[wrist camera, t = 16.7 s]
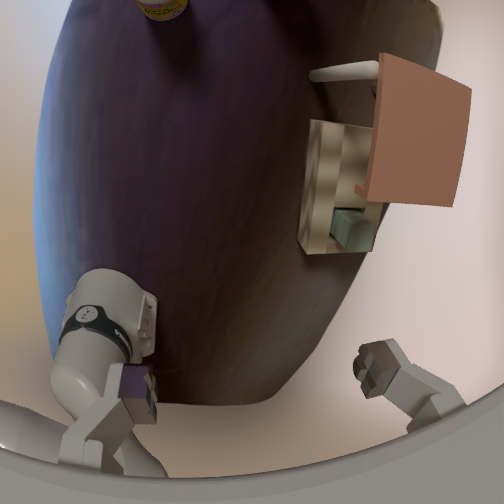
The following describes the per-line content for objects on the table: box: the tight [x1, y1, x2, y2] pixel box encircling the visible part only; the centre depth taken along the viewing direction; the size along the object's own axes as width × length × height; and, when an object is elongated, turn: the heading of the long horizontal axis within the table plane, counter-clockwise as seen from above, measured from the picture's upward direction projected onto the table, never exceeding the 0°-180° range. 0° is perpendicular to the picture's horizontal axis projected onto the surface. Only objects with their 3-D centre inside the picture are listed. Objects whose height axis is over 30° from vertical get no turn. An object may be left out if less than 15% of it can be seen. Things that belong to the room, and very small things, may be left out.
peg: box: [330, 207, 376, 251], centre depth 45 cm, size 4×4×10 cm
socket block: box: [296, 119, 383, 254], centre depth 45 cm, size 20×12×6 cm, turn 177°
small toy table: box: [309, 53, 472, 207], centre depth 35 cm, size 16×16×18 cm
